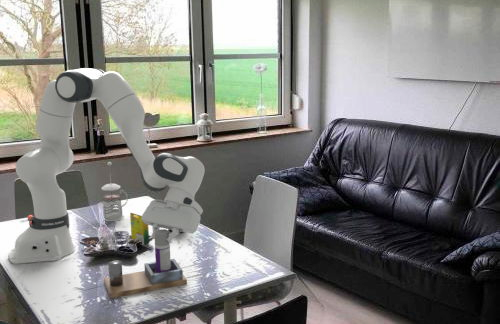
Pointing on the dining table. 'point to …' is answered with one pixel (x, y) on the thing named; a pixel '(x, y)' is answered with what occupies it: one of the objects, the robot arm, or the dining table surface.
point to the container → (162, 251)
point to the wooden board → (147, 280)
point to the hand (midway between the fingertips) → (160, 240)
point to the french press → (112, 213)
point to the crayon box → (139, 229)
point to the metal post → (115, 273)
